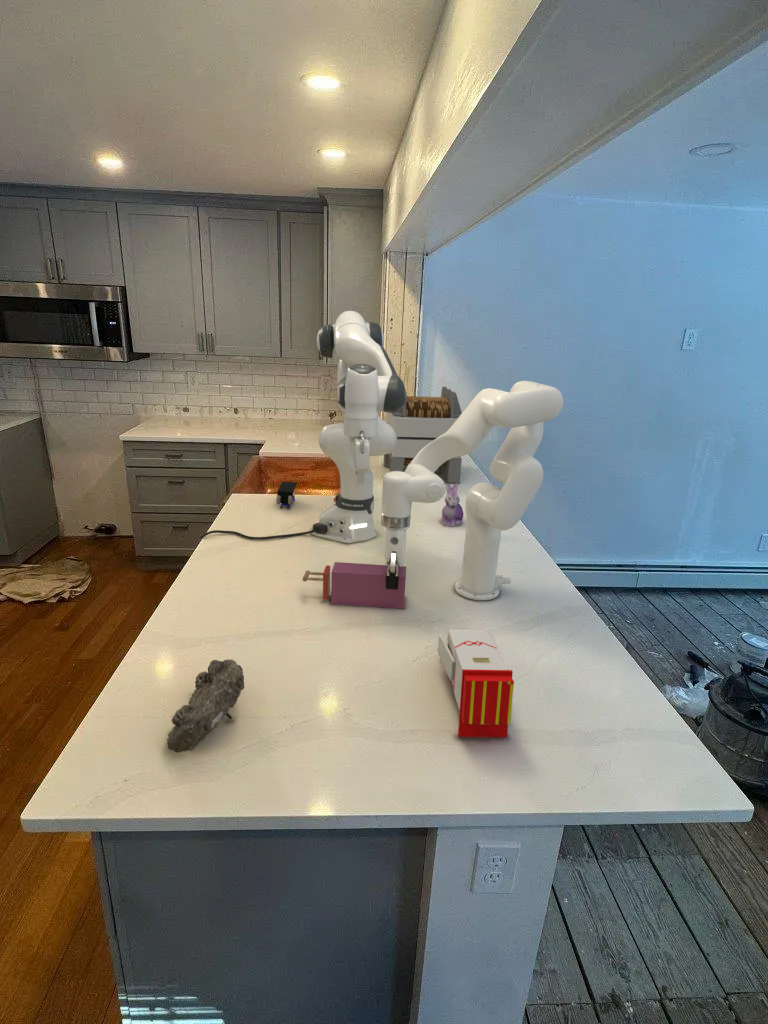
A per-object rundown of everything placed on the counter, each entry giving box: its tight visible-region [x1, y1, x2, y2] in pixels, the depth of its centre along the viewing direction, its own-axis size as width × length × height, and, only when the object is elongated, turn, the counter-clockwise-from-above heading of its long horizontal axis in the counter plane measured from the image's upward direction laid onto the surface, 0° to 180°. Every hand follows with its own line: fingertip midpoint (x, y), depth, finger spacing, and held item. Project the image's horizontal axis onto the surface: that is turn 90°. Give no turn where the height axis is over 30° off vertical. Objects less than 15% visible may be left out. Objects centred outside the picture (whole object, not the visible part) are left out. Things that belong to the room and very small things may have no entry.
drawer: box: [302, 564, 331, 601], centre depth 152 cm, size 24×5×8 cm, turn 87°
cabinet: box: [330, 561, 407, 609], centre depth 152 cm, size 19×6×9 cm, turn 87°
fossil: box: [166, 658, 245, 754], centre depth 106 cm, size 22×10×15 cm
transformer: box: [383, 386, 463, 484], centre depth 268 cm, size 34×33×41 cm
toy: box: [437, 628, 515, 738], centre depth 117 cm, size 12×13×30 cm
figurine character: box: [275, 480, 298, 509], centre depth 223 cm, size 7×8×15 cm
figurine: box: [440, 483, 464, 527], centre depth 210 cm, size 9×10×15 cm
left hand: (359, 479), depth 154 cm, fingers open, 8 cm apart
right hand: (392, 581), depth 151 cm, fingers open, 7 cm apart
